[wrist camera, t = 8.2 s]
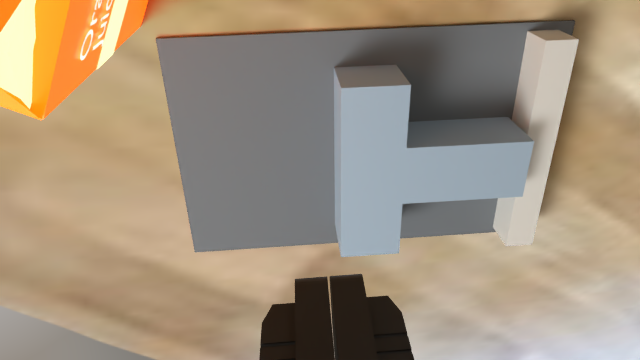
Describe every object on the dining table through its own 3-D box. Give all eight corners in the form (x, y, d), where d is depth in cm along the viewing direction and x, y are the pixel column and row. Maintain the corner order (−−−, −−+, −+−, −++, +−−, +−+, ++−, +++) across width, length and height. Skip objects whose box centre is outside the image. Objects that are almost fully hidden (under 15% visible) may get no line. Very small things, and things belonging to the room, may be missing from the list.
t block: (334, 223, 38) (341, 257, 34) (333, 67, 32) (341, 88, 28) (490, 214, 38) (512, 245, 35) (518, 59, 33) (547, 78, 29)
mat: (573, 20, 32) (575, 20, 32) (527, 228, 40) (529, 229, 39) (156, 38, 30) (155, 39, 30) (195, 250, 38) (194, 252, 38)
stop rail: (558, 29, 32) (578, 39, 30) (517, 225, 39) (532, 244, 37) (527, 30, 32) (546, 40, 29) (492, 226, 39) (505, 246, 37)
